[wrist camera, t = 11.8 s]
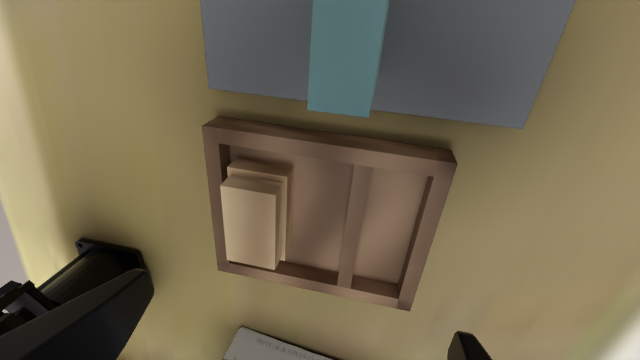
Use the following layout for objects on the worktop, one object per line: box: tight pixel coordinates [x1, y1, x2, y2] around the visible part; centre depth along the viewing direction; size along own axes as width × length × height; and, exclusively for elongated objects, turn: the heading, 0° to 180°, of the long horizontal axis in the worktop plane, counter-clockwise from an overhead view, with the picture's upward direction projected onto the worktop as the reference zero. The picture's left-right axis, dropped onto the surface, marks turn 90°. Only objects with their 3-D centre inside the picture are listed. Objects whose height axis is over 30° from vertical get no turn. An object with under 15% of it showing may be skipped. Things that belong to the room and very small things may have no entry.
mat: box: [200, 0, 576, 129], centre depth 16 cm, size 18×10×1 cm, turn 86°
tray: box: [202, 117, 457, 311], centre depth 22 cm, size 15×12×2 cm
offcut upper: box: [220, 175, 283, 270], centre depth 21 cm, size 4×6×2 cm, turn 176°
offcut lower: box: [227, 158, 294, 261], centre depth 22 cm, size 4×7×2 cm, turn 176°
